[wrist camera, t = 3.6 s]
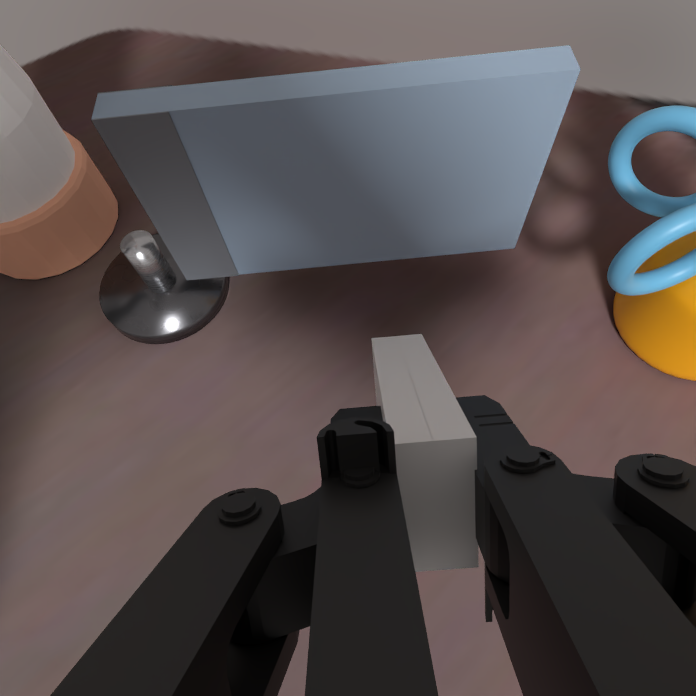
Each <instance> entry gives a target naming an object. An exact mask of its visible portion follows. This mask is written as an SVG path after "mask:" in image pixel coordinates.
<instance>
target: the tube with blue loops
mask: <svg viewBox="0 0 696 696" xmlns="http://www.w3.org/2000/svg"><path fill="white" fill-rule="evenodd" d="M662 131H674V132H680V133H684V134H686V135H689V136H691V137H693V138H695V139H696V108H693V107H688V106H665V107H659V108H655V109H652V110H649V111H647V112H644V113H642V114H640V115H638V116H637V117H635V118H634V119H632V120H631V121H630V122H628V123H627V124H626V125H625V126H624V127H623V128H622V129H621V130H620V132H619V133H618V134H617V136H616V137H615V139H614V141H613V143H612V145H611V148H610V151H609V156H608V170H609V175H610V178H611V181H612V183H613V185H614V187H615V189H616V190H617V192H618V193H619V194H620V196H621V197H622V198H623V199H624V200H625V201H626V202H628V203H629V204H630V205H631V206H633V207H634V208H636V209H638V210H640V211H642V212H644V213H647V214H649V215H653V216H656V217H662V218H661V219H659V220H658V221H656V222H654V223H653V224H651V225H650V226H648V227H647V228H645V229H644V230H642V231H641V232H640V233H638V234H637V235H636V236H635V237H633V238H632V239H631V240H630V241H629V242H628V243H627V244H626V245H625V246H624V247H623V248H622V249H621V250H620V251H619V252H618V253H617V254H616V256H615V257H614V259H613V260H612V262H611V264H610V266H609V269H608V273H607V279H608V283H609V285H610V287H611V288H612V289H613V290H614V291H616V294H615V297H614V304H613V315H614V319H615V324H616V327H617V329H618V331H619V333H620V336H621V337H622V339H623V340H624V341H625V343H626V344H627V346H628V347H629V348H630V349H631V350H632V351H633V352H634V353H635V354H636V355H637V356H638V357H639V358H640V359H642V360H643V361H645V362H646V363H647V364H649V365H650V366H652V367H654V368H656V369H658V370H659V371H661V372H663V373H665V374H668V375H672V376H674V377H677V378H681V379H687V380H692V381H696V193H694V194H692V195H688V196H684V197H668V196H663V195H659V194H657V193H654V192H652V191H650V190H649V189H647V188H646V187H645V186H643V185H642V184H641V183H640V182H639V180H638V179H637V178H636V176H635V174H634V172H633V170H632V165H631V156H632V152H633V150H634V148H635V146H636V145H637V144H638V143H639V141H641V140H642V139H643V138H645V137H646V136H648V135H650V134H653V133H657V132H662Z"/></svg>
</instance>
